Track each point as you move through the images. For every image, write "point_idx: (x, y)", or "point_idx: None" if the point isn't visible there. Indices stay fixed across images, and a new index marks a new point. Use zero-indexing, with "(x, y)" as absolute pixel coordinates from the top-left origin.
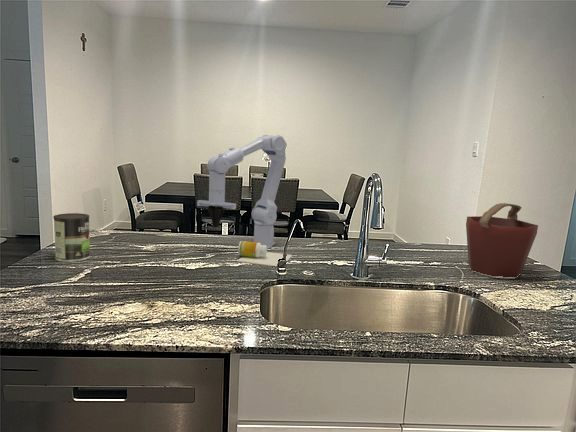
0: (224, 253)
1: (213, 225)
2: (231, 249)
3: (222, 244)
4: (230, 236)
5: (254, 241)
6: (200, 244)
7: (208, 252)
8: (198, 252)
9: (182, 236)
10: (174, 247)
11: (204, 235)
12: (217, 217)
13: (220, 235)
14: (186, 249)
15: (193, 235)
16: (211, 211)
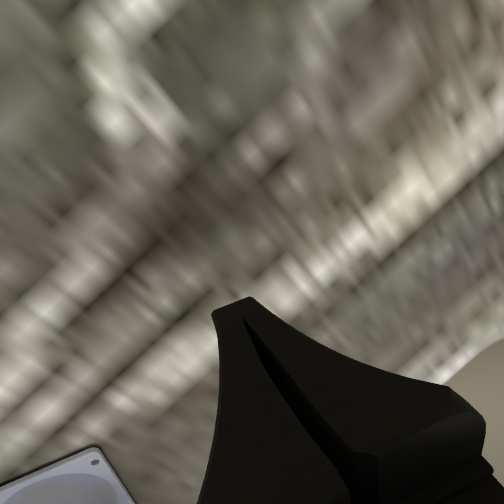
0: (90, 226)
1: (251, 305)
2: (134, 328)
3: None
4: None
5: (86, 493)
6: (351, 266)
7: (199, 163)
8: (254, 112)
9: (491, 300)
10: (442, 102)
11: None
12: (226, 400)
13: None
14: (360, 117)
15: (456, 348)
16: (367, 416)
